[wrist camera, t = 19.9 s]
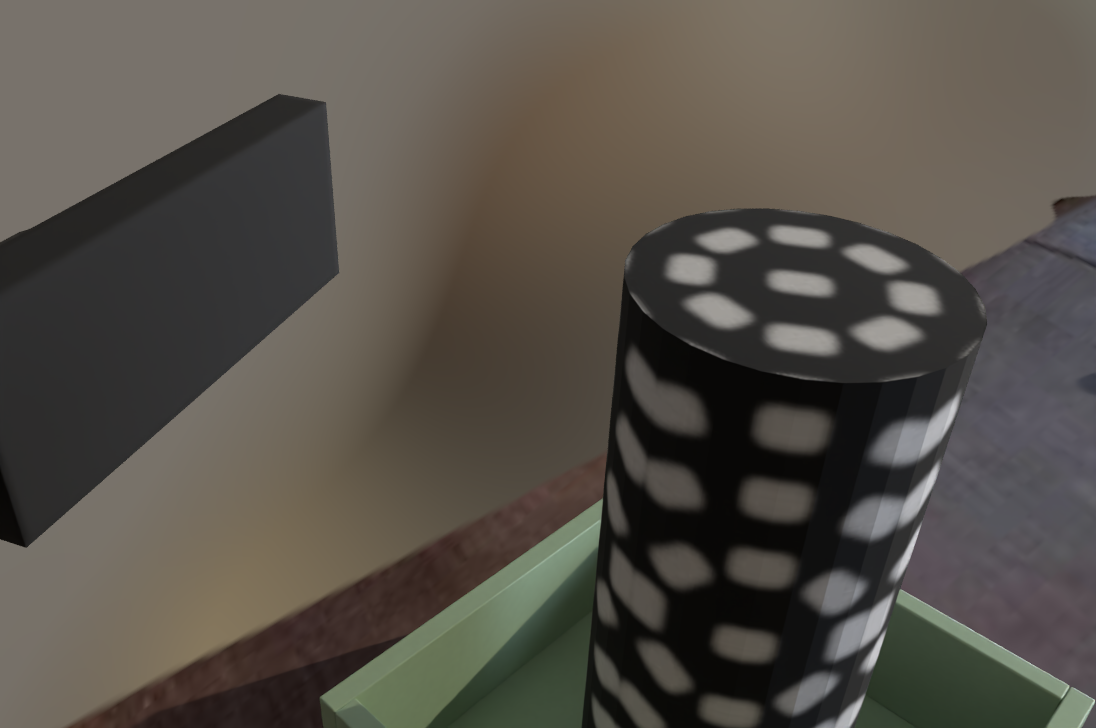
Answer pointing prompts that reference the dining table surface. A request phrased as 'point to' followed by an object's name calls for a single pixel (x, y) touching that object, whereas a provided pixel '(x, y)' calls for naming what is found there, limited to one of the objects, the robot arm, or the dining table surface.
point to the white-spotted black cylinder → (768, 465)
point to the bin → (563, 644)
